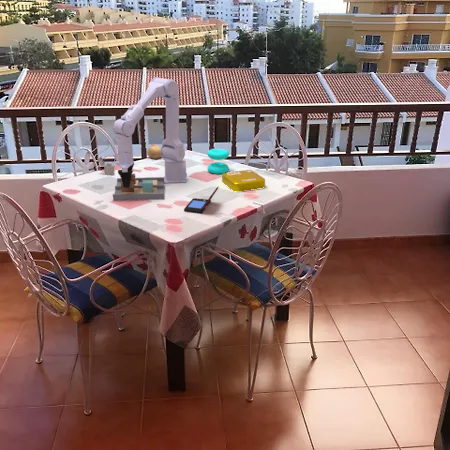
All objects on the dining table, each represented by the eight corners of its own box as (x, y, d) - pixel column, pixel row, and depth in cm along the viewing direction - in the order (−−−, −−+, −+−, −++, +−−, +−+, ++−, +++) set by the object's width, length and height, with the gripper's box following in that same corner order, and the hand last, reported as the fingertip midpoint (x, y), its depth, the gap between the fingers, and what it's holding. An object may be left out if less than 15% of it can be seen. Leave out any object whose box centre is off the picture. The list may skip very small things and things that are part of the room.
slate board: (164, 182, 208) (164, 177, 207) (164, 199, 190) (164, 193, 189) (117, 183, 206) (117, 178, 205) (113, 200, 188) (112, 194, 187)
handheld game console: (193, 200, 191) (192, 182, 187) (219, 203, 188) (219, 185, 185) (182, 212, 179) (182, 193, 176) (210, 215, 177) (210, 196, 174)
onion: (165, 156, 245) (164, 142, 242) (160, 160, 238) (160, 146, 235) (150, 155, 246) (149, 141, 243) (145, 159, 239) (144, 145, 236)
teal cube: (153, 189, 196) (152, 179, 194) (152, 192, 192) (152, 183, 190) (143, 189, 195) (142, 180, 193) (142, 192, 192) (142, 183, 190)
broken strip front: (138, 182, 205) (137, 171, 203) (137, 188, 198) (136, 177, 196) (124, 182, 205) (123, 171, 203) (122, 188, 198) (122, 177, 196)
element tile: (234, 193, 199) (235, 182, 197) (220, 182, 211) (220, 172, 209) (266, 189, 204) (267, 178, 202) (250, 178, 217) (251, 168, 215)
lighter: (114, 174, 217) (113, 157, 214) (113, 175, 216) (111, 158, 212) (100, 173, 219) (98, 156, 215) (98, 174, 217) (97, 157, 214)
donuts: (233, 150, 221) (220, 155, 213) (232, 170, 225) (220, 176, 217) (215, 146, 226) (203, 151, 218) (215, 166, 230) (203, 172, 223)
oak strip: (157, 189, 198) (156, 178, 196) (156, 195, 191) (156, 184, 189) (122, 190, 196) (121, 179, 194) (121, 196, 189) (120, 185, 187)
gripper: (116, 145, 192) (118, 178, 197) (112, 156, 179) (115, 190, 184) (134, 145, 193) (136, 177, 198) (131, 155, 179) (134, 189, 185)
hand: (127, 183), depth 191 cm, fingers open, 7 cm apart
